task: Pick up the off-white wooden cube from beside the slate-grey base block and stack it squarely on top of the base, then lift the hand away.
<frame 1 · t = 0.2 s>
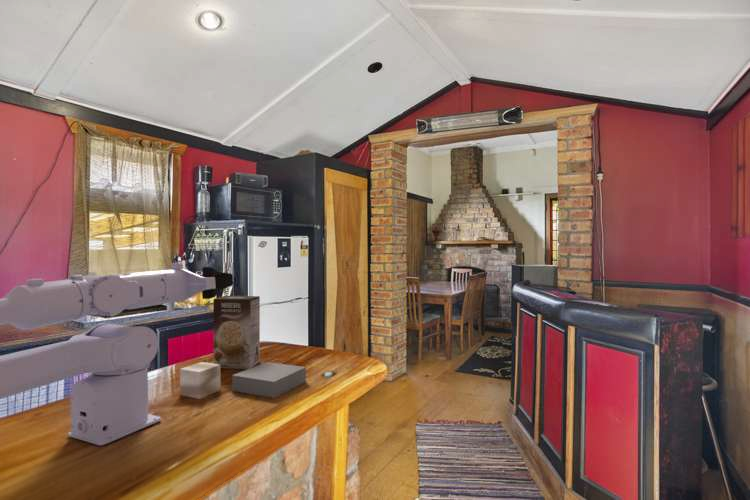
hand: (216, 280, 80), 21 cm above the counter, tool horizontal, fingers open, 7 cm apart
cube: (200, 393, 78), on the counter
base: (270, 386, 81), on the counter
coffee box: (237, 366, 96), on the counter
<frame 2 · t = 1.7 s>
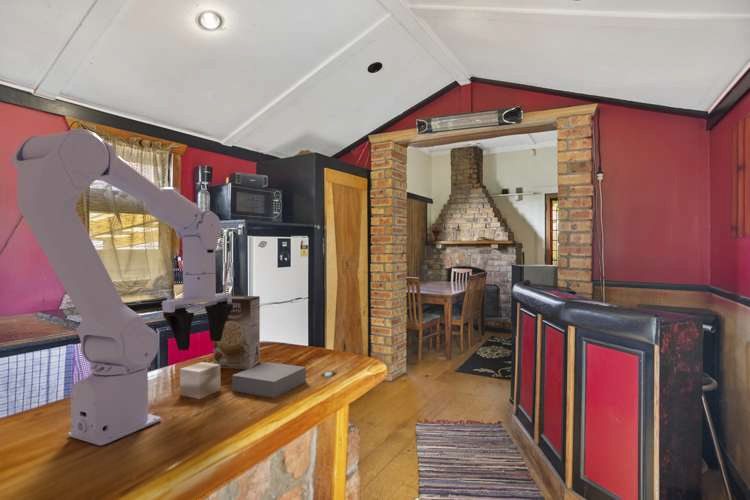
hand: (200, 345, 78), 9 cm above the counter, tool pointing down, fingers open, 7 cm apart
nothing on the counter moved.
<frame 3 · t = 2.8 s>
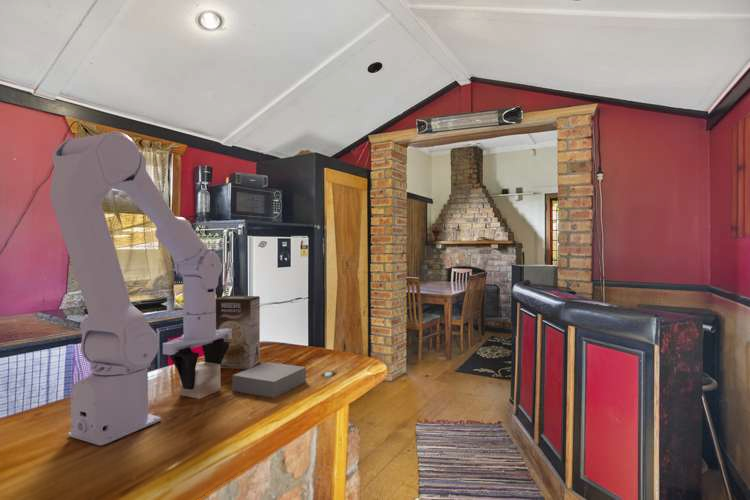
hand: (200, 383, 78), 2 cm above the counter, tool pointing down, fingers closed on cube, 5 cm apart
cube: (200, 392, 78), on the counter, touching gripper
everything else where it was.
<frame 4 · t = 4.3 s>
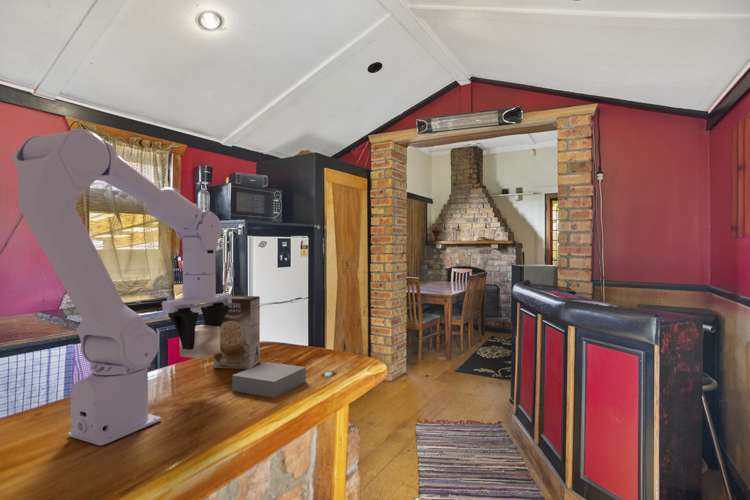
hand: (200, 345, 78), 9 cm above the counter, tool pointing down, fingers closed on cube, 5 cm apart
cube: (200, 354, 78), point 7 cm above the counter, touching gripper
everything else where it was.
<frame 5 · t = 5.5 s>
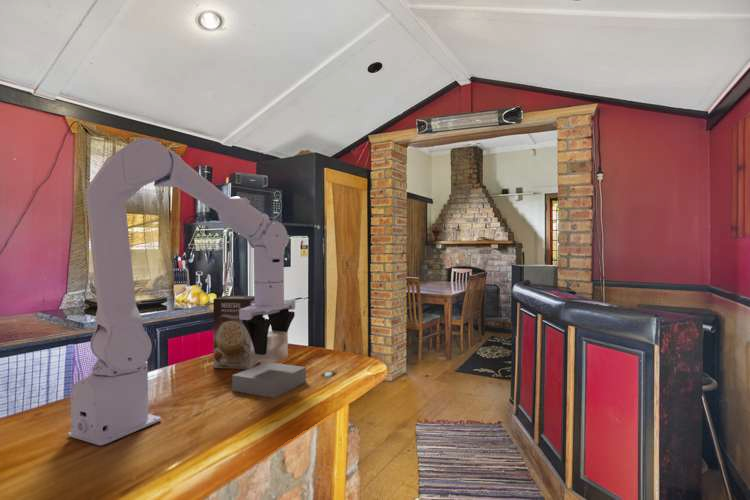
hand: (269, 350, 81), 7 cm above the counter, tool pointing down, fingers closed on cube, 5 cm apart
cube: (269, 358, 81), point 5 cm above the counter, touching gripper
everything else where it was.
when the fingers open (6 cm above the counter, at t = 6.1 s): cube drops 1 cm, resting on base.
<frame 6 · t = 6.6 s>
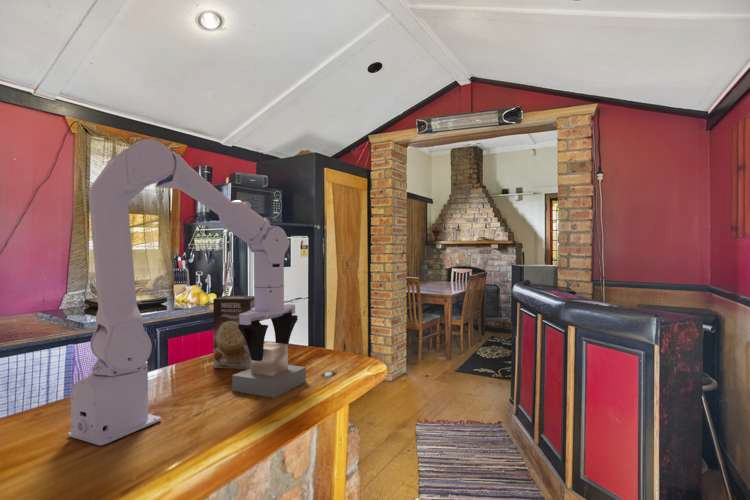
hand: (269, 355, 81), 6 cm above the counter, tool pointing down, fingers open, 7 cm apart
cube: (269, 371, 81), point 3 cm above the counter, touching base
everything else where it was.
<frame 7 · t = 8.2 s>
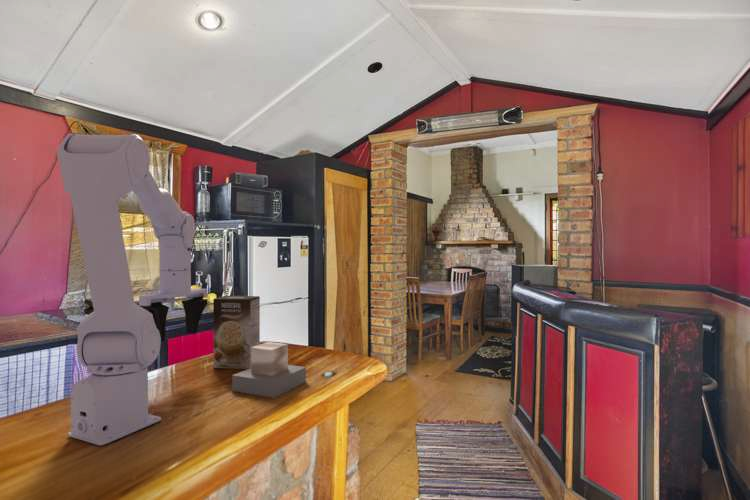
hand: (176, 337, 83), 9 cm above the counter, tool pointing down, fingers open, 7 cm apart
nothing on the counter moved.
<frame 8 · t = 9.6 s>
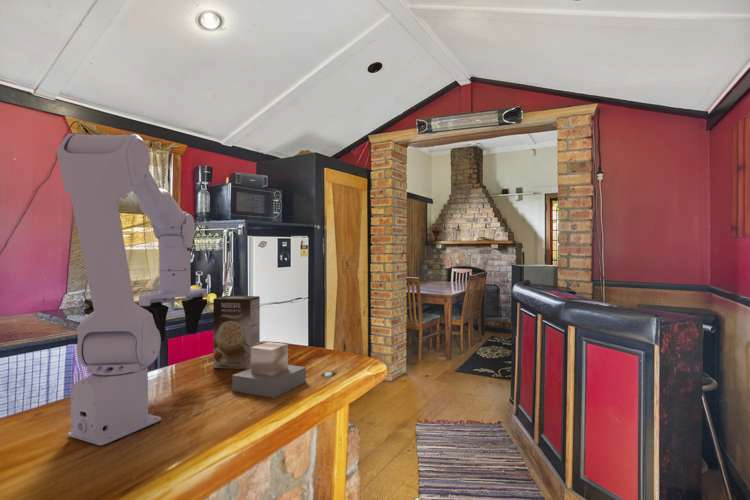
hand: (175, 337, 83), 9 cm above the counter, tool pointing down, fingers open, 7 cm apart
nothing on the counter moved.
at the end: cube 0.0 cm off-centre on the base, point 3.0 cm above the base's base; cube tilted 0°; the gripper is holding nothing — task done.
